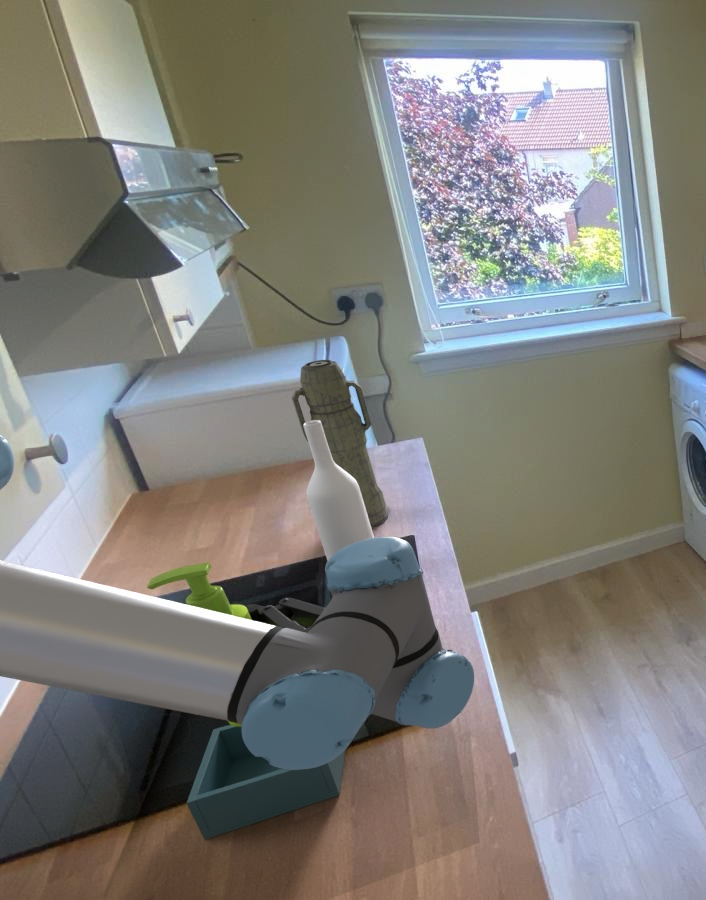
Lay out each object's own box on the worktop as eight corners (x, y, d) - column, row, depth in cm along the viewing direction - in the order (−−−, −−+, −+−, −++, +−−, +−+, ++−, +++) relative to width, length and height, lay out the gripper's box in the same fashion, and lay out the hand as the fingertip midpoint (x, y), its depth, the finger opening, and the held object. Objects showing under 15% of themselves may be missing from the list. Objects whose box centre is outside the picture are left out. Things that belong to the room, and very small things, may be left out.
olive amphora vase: (402, 517, 157) (358, 360, 144) (341, 538, 150) (289, 373, 136) (389, 505, 163) (345, 352, 150) (329, 524, 156) (278, 365, 142)
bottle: (383, 575, 136) (339, 424, 124) (333, 588, 132) (283, 434, 121) (380, 556, 142) (338, 411, 131) (333, 569, 139) (284, 420, 127)
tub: (204, 840, 84) (186, 803, 82) (228, 763, 94) (213, 729, 92) (339, 795, 89) (326, 759, 87) (348, 727, 100) (336, 694, 97)
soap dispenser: (222, 705, 89) (153, 566, 81) (288, 684, 92) (228, 548, 83) (213, 737, 84) (138, 593, 76) (283, 714, 87) (219, 573, 78)
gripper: (264, 756, 71) (111, 707, 78) (416, 639, 87) (278, 608, 95) (238, 696, 68) (82, 650, 76) (400, 586, 85) (259, 558, 92)
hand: (191, 627), depth 85 cm, fingers closed on soap dispenser, 6 cm apart
